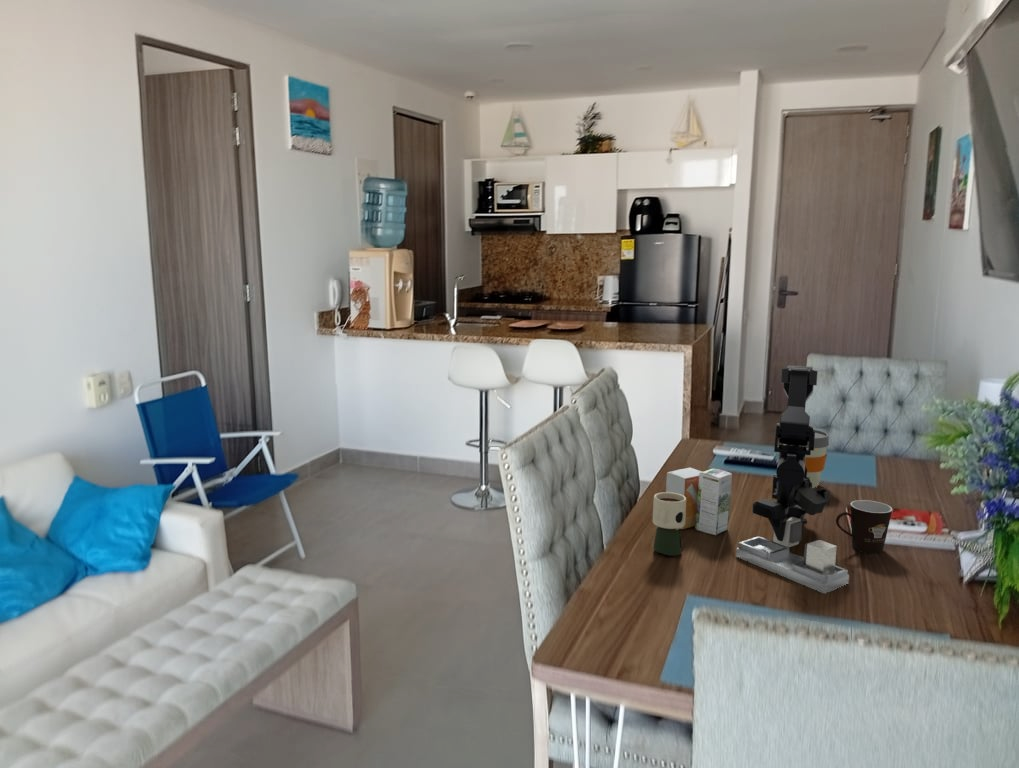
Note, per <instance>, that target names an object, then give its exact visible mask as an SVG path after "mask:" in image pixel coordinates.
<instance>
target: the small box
mask: <svg viewBox="0 0 1019 768" xmlns="http://www.w3.org/2000/svg"><path fill="white" fill-rule="evenodd" d="M702 472H703V471H701V470H699V469H696V468H693V467H690V466H689V467H687V468H680V469H676V470H672V471H668V472H666V483H665V484H666V485H665V492H671V493H677V494H681V495H683V496H685V497H686V515H685V525H684V527H681V528H679V529H680V530H685V529H688V528H689V529H690V528H692V527H696V514H697V499H698V485H699V473H702Z"/></svg>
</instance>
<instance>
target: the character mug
mask: <svg viewBox="0 0 1019 768" xmlns="http://www.w3.org/2000/svg"><path fill="white" fill-rule="evenodd" d="M652 505H653V506H652V523H653V525H654V526H657V528H656V530H655V534H654V541H653V548H652V549H653V550H654V551H655V552H657V553H660V554H663V555H664V556H666V555H667V556H672V557H673V556H679V555H681V553H682V551H683V543H682V534H681V529H680V528H681V527H684V525H685V515H686V497H685V496H683V495H681V494H677V493H671V492H666V491H665V492H658V493H657V492H656V493H655V494H654V496H653V504H652Z"/></svg>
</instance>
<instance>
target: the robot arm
mask: <svg viewBox="0 0 1019 768" xmlns="http://www.w3.org/2000/svg"><path fill="white" fill-rule="evenodd" d="M818 372H819V370H815V369H813V366H807V365H806V366H803V365H802V366H801V365H787V367H786V368H781V377H780V383H781V384H783V392H784V393H785V397H787V403H786V404H787V405H786V410H784V411H783V412H782V413H781V414H780V418H779V419H780V420H779V423H778V422H777V423H776V426H775V427H776V429H775V438H774V449H773V450H774V451H773V452H774V453H778V462H777V465H776V466H777V467H776V472H775V473H773V478H772V493H771V499H769V498H763V499H759V500H756V501H755V502H754V503H752V511H751V512H752V514H755V515H757V516H760V517H763V518H766V519H768V521H769V523H770V525H771V527H772V530H773V533H774V532H775V535H776V537H777V539H778V540H779V541H783V537H784V532H785V526H786V521H787V520H788V519H790V518H791V517H792V516H793V517H796V518H799V519H801V521H800V522H802V524H803V523H806V522H808V519H807V518H805V516H806V515H810V516H815V515H817V514H822V512H823V511H824V510H825V507H826V506H829V505H830V499H831V498H830V490H828V489H827V488H825V487H824V488H821V489H816V488H812V482H811V481H810V477H807V468H806V466H805V460H806V455H810V454H811V450H812V451H814V439H815V431H814V430H815V429H814V427H813V426H812V425H810V420H811V419H810V417H811V416H810V415H809V414H808V412H807V411H806V402H808V400H809V399H810V397H811V396H812V394H813V393H814V386H817V385H818V384H817V382H818ZM813 429H814V430H813ZM808 442H809V447H808V450H806V448H807V447H802V446H807V445H808ZM778 443H779V444H778ZM783 444H786V445H783ZM772 499H774V500H776V501H774V500H772Z"/></svg>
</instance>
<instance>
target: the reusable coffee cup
mask: <svg viewBox="0 0 1019 768" xmlns="http://www.w3.org/2000/svg"><path fill="white" fill-rule="evenodd" d="M813 430H814V431H815V439H814V451H812V450H811V454H810V455H806V460H805V466H806V468H807V477H810V481H811V482H812V489H814V488H813V487H816V488H818V487H819V486H820V480H821V477H822V471H824V470H825V465H826V462H827V461H826V460H827V457H828V454H827V447H828V446H829V442H830V440H829V434H828V433H827V432H826V431H822V430H819V429H814V428H813ZM782 445H786V444H782ZM802 447H807V448H806V450H808V447H809V442H808V445H807V446H802ZM818 485H819V486H818ZM817 486H818V487H817Z"/></svg>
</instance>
